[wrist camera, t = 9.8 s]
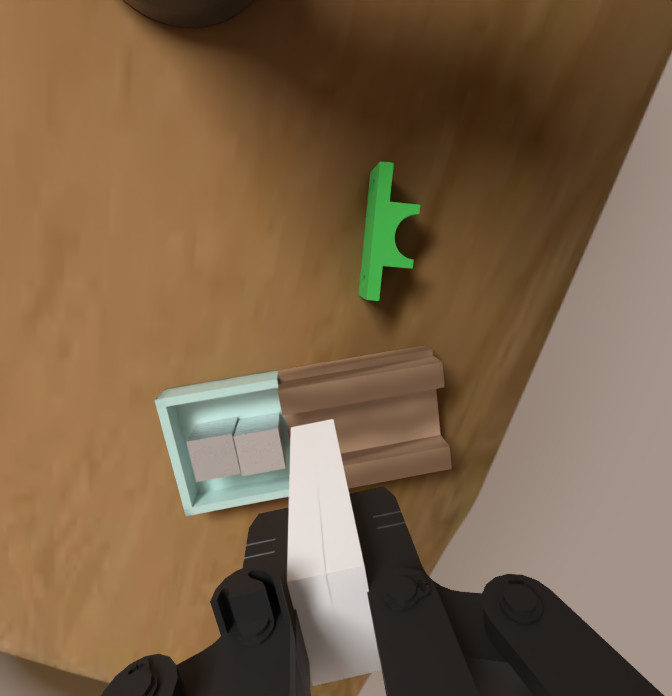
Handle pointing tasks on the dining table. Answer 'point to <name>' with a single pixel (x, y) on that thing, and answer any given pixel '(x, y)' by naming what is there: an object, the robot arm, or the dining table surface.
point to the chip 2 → (260, 444)
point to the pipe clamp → (382, 231)
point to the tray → (214, 404)
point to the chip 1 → (214, 449)
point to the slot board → (373, 411)
